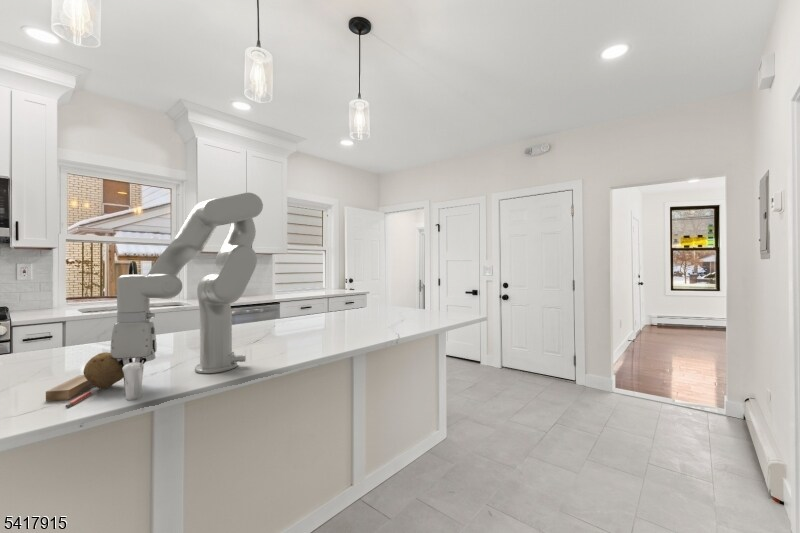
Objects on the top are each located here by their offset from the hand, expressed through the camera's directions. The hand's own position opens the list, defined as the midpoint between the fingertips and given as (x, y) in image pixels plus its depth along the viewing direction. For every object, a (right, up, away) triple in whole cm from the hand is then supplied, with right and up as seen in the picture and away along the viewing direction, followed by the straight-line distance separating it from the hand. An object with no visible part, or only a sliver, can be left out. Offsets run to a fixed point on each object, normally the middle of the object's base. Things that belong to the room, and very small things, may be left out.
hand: (133, 381), depth 104 cm
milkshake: (+7, -2, -9) cm, 12 cm away
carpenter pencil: (-6, -1, -11) cm, 12 cm away
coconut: (-7, -2, -1) cm, 8 cm away
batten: (-13, -1, -4) cm, 14 cm away
